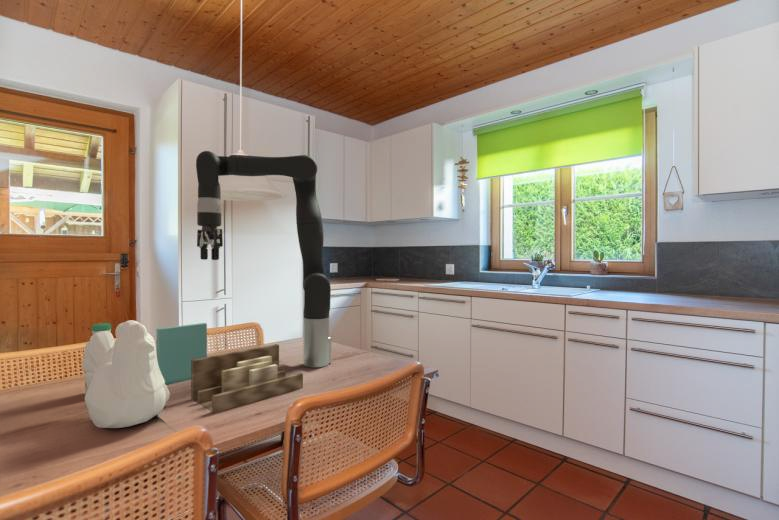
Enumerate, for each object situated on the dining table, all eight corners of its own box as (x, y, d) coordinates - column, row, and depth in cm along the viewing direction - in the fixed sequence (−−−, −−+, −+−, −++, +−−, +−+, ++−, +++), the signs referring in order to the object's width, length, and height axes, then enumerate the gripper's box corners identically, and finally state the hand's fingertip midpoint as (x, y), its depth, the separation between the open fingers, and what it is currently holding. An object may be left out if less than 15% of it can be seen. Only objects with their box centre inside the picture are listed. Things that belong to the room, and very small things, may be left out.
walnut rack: (276, 382, 129) (276, 344, 129) (302, 392, 120) (302, 351, 119) (191, 404, 110) (191, 359, 110) (214, 419, 100) (214, 370, 100)
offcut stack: (268, 385, 121) (269, 355, 121) (277, 389, 118) (277, 358, 118) (219, 399, 110) (219, 365, 110) (227, 403, 107) (227, 369, 106)
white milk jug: (181, 420, 100) (180, 318, 99) (106, 444, 87) (105, 328, 86) (136, 397, 115) (135, 309, 114) (66, 415, 102) (65, 316, 101)
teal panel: (204, 378, 132) (203, 322, 132) (207, 379, 131) (206, 323, 131) (156, 389, 122) (156, 328, 122) (159, 390, 121) (159, 329, 120)
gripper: (230, 211, 137) (230, 260, 138) (211, 214, 147) (211, 259, 147) (207, 209, 132) (207, 260, 132) (189, 212, 141) (189, 259, 142)
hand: (209, 259), depth 140 cm, fingers open, 8 cm apart
